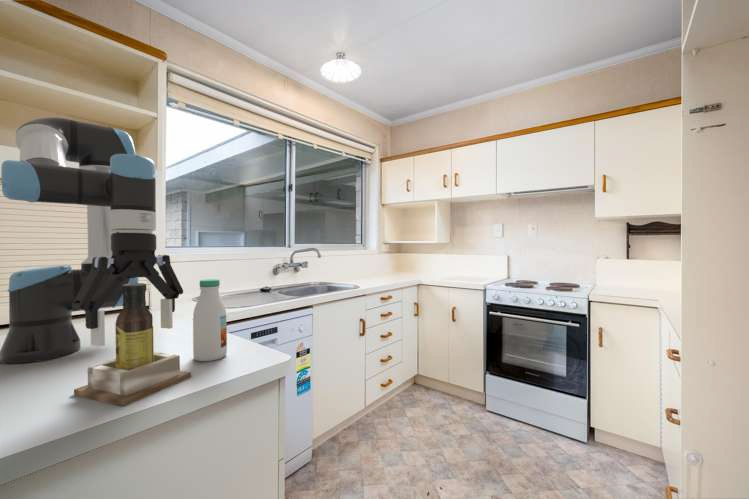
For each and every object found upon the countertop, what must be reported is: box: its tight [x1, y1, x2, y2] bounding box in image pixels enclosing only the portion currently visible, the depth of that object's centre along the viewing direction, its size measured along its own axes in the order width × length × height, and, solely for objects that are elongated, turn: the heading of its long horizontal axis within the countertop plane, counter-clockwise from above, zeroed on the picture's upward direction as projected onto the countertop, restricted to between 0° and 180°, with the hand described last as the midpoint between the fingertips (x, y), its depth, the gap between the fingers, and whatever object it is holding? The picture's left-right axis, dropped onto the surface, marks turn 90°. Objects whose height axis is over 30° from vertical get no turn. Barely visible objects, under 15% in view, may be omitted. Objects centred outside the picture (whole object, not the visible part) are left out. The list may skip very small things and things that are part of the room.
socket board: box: [73, 351, 192, 407], centre depth 67 cm, size 14×14×5 cm
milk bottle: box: [192, 278, 228, 362], centre depth 84 cm, size 8×8×20 cm
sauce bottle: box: [114, 282, 155, 370], centre depth 67 cm, size 6×6×20 cm
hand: (135, 335), depth 67 cm, fingers open, 13 cm apart
